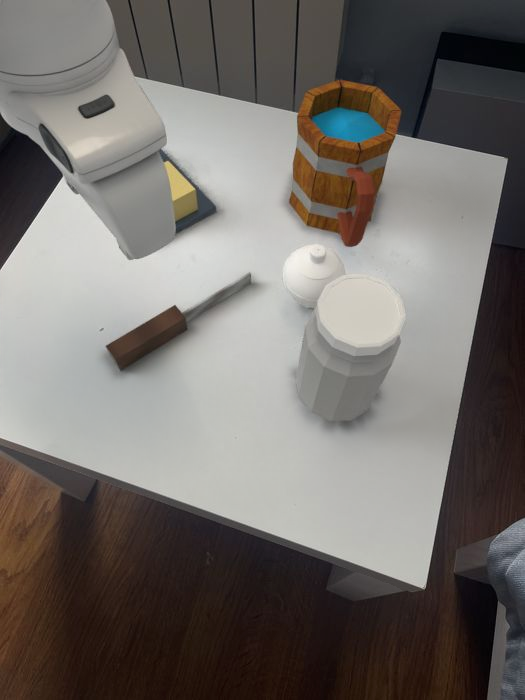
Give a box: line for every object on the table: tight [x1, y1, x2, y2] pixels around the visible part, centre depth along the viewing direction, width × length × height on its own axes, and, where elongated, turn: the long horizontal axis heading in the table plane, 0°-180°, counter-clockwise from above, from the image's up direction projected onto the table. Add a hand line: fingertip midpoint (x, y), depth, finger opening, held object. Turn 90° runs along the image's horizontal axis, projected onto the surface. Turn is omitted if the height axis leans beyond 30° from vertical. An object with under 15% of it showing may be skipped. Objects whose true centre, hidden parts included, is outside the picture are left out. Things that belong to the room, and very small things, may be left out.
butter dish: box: [158, 148, 217, 235], centre depth 80 cm, size 10×16×1 cm, turn 38°
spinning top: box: [281, 243, 347, 309], centre depth 66 cm, size 8×8×12 cm
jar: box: [295, 273, 407, 422], centre depth 58 cm, size 10×10×18 cm
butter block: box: [164, 161, 198, 222], centre depth 77 cm, size 5×7×4 cm
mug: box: [288, 79, 402, 248], centre depth 73 cm, size 20×14×15 cm
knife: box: [105, 271, 252, 372], centre depth 69 cm, size 21×2×3 cm, turn 127°
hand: (105, 218), depth 48 cm, fingers open, 8 cm apart
